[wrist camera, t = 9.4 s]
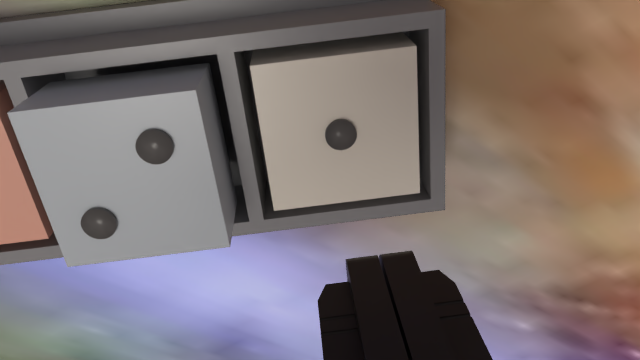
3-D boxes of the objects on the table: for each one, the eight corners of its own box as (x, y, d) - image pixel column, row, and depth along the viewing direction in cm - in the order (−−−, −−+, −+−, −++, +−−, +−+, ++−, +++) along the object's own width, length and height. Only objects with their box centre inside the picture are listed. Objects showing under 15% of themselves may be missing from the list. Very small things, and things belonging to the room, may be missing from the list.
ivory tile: (397, 27, 22) (417, 47, 19) (402, 157, 25) (421, 195, 21) (254, 44, 22) (249, 67, 19) (274, 173, 25) (273, 213, 21)
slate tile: (209, 62, 20) (194, 91, 17) (237, 201, 23) (229, 250, 19) (50, 81, 20) (4, 114, 17) (97, 218, 23) (65, 270, 19)
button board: (420, -32, 23) (454, -19, 18) (424, 176, 27) (451, 227, 23) (-140, 35, 22) (-245, 64, 18) (-43, 233, 27) (-108, 296, 23)
